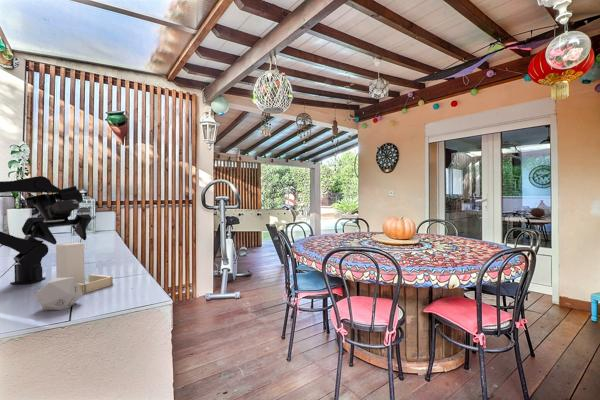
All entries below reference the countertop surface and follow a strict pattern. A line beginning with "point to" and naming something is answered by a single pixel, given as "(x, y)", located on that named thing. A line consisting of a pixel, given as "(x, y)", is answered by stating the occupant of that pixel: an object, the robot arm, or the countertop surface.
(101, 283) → the lane rack
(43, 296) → the die
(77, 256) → the block
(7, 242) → the robot arm
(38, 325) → the countertop surface
